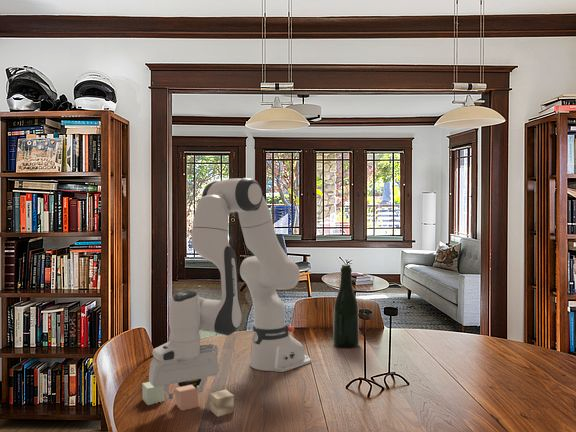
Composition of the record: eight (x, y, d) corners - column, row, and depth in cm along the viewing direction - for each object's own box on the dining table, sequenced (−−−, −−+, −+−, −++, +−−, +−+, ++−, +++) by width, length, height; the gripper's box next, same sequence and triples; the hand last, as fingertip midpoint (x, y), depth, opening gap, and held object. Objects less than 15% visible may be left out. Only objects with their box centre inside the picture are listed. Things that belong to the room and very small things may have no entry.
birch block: (226, 406, 144) (226, 389, 144) (233, 412, 140) (233, 395, 140) (210, 410, 141) (210, 393, 141) (217, 416, 137) (217, 399, 137)
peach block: (191, 401, 148) (191, 384, 148) (198, 407, 144) (197, 390, 143) (175, 404, 145) (175, 388, 145) (181, 411, 141) (181, 393, 141)
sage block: (158, 396, 152) (158, 379, 152) (164, 401, 148) (164, 385, 147) (142, 399, 149) (142, 383, 149) (147, 405, 145) (147, 388, 145)
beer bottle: (341, 339, 210) (341, 262, 208) (363, 344, 203) (363, 264, 202) (328, 346, 201) (328, 265, 200) (351, 350, 195) (351, 267, 194)
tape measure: (177, 388, 158) (177, 376, 158) (197, 383, 162) (197, 372, 162) (185, 395, 152) (185, 383, 152) (206, 390, 156) (205, 378, 156)
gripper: (213, 340, 152) (213, 384, 152) (147, 350, 141) (147, 398, 141) (222, 345, 147) (222, 391, 147) (153, 356, 136) (154, 406, 136)
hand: (184, 395), depth 144 cm, fingers open, 8 cm apart
